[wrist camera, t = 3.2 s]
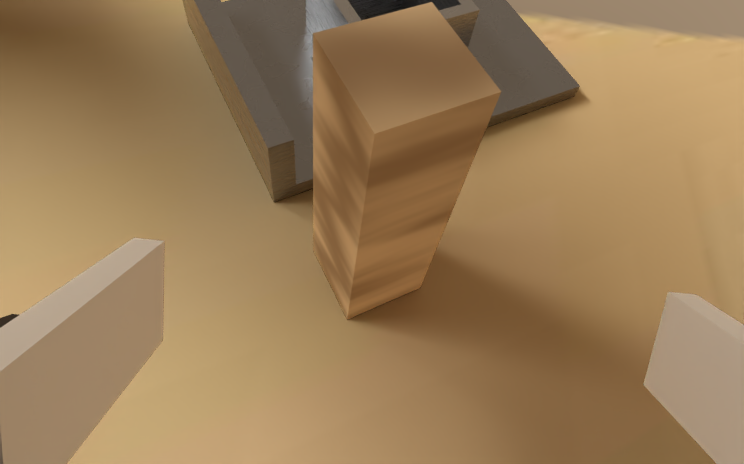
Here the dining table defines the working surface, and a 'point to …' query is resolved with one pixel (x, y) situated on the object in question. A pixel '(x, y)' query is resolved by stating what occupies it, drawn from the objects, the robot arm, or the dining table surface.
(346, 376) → the dining table surface
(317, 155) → the wooden block
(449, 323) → the dining table surface
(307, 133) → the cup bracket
